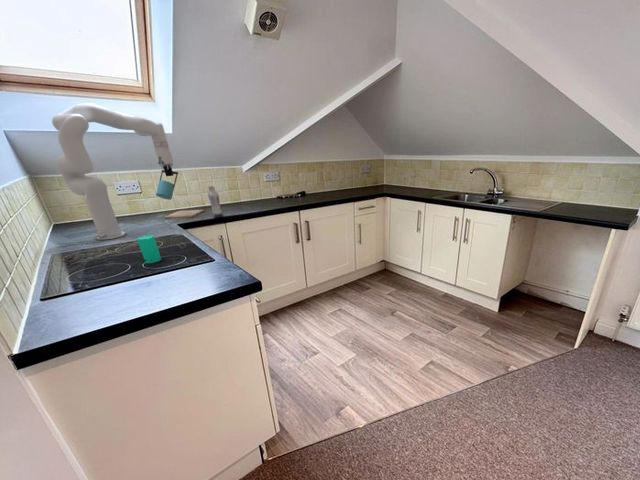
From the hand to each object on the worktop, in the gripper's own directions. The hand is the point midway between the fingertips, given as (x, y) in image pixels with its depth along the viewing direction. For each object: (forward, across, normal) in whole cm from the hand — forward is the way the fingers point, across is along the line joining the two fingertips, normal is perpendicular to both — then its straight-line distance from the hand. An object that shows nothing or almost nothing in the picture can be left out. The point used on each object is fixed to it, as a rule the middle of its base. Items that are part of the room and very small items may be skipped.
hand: (169, 175), depth 192 cm
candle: (+27, +84, +32) cm, 94 cm away
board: (+27, -9, -2) cm, 29 cm away
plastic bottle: (+28, +3, +26) cm, 38 cm away
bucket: (+7, +1, -1) cm, 7 cm away
